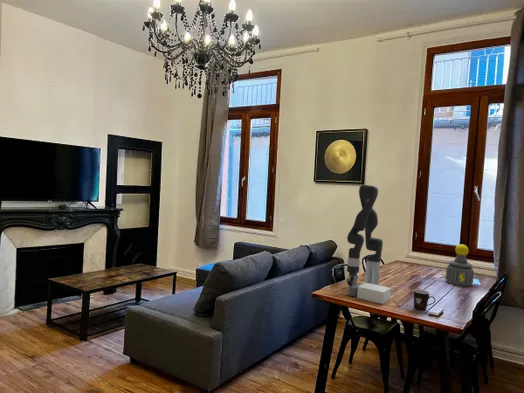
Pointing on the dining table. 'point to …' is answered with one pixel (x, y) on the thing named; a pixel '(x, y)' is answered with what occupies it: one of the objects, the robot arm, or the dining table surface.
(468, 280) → the decorative lamp
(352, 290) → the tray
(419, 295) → the coffee mug
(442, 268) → the dining table surface
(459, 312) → the dining table surface
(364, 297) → the white rectangular block
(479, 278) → the dining table surface
